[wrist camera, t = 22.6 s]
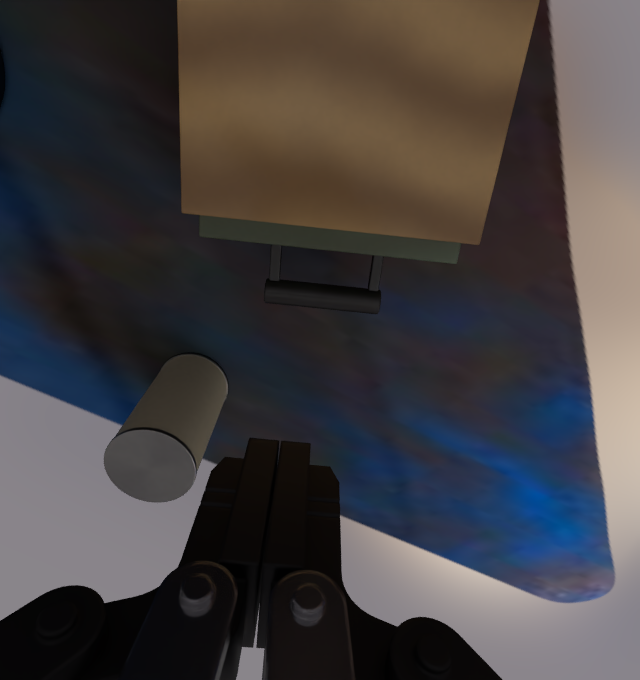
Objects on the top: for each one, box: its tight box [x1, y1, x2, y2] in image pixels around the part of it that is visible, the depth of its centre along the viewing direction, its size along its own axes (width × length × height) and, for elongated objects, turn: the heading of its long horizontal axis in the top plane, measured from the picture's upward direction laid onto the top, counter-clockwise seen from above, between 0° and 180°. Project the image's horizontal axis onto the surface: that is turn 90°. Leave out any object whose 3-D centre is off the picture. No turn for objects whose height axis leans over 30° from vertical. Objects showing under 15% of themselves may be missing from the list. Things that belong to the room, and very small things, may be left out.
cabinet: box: [177, 0, 540, 245], centre depth 24 cm, size 14×15×9 cm
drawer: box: [199, 215, 461, 314], centre depth 26 cm, size 17×14×7 cm
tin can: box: [104, 353, 229, 502], centre depth 33 cm, size 6×6×10 cm
